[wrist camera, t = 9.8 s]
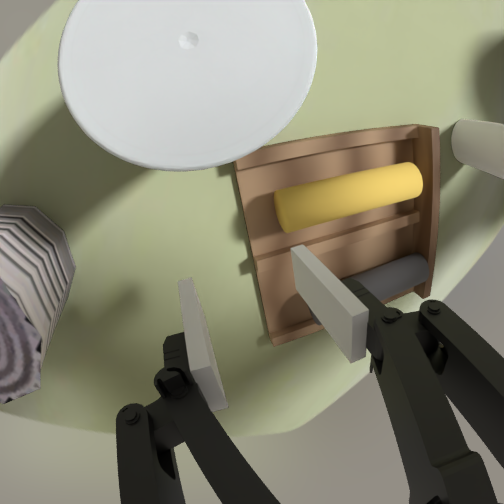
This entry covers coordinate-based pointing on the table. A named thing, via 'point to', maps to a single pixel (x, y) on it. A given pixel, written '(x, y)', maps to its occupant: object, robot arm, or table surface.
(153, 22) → the supplement tub
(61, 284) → the can
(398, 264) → the charcoal rod
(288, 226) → the ochre rod
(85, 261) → the table surface
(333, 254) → the walnut slot rack
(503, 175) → the white cup
